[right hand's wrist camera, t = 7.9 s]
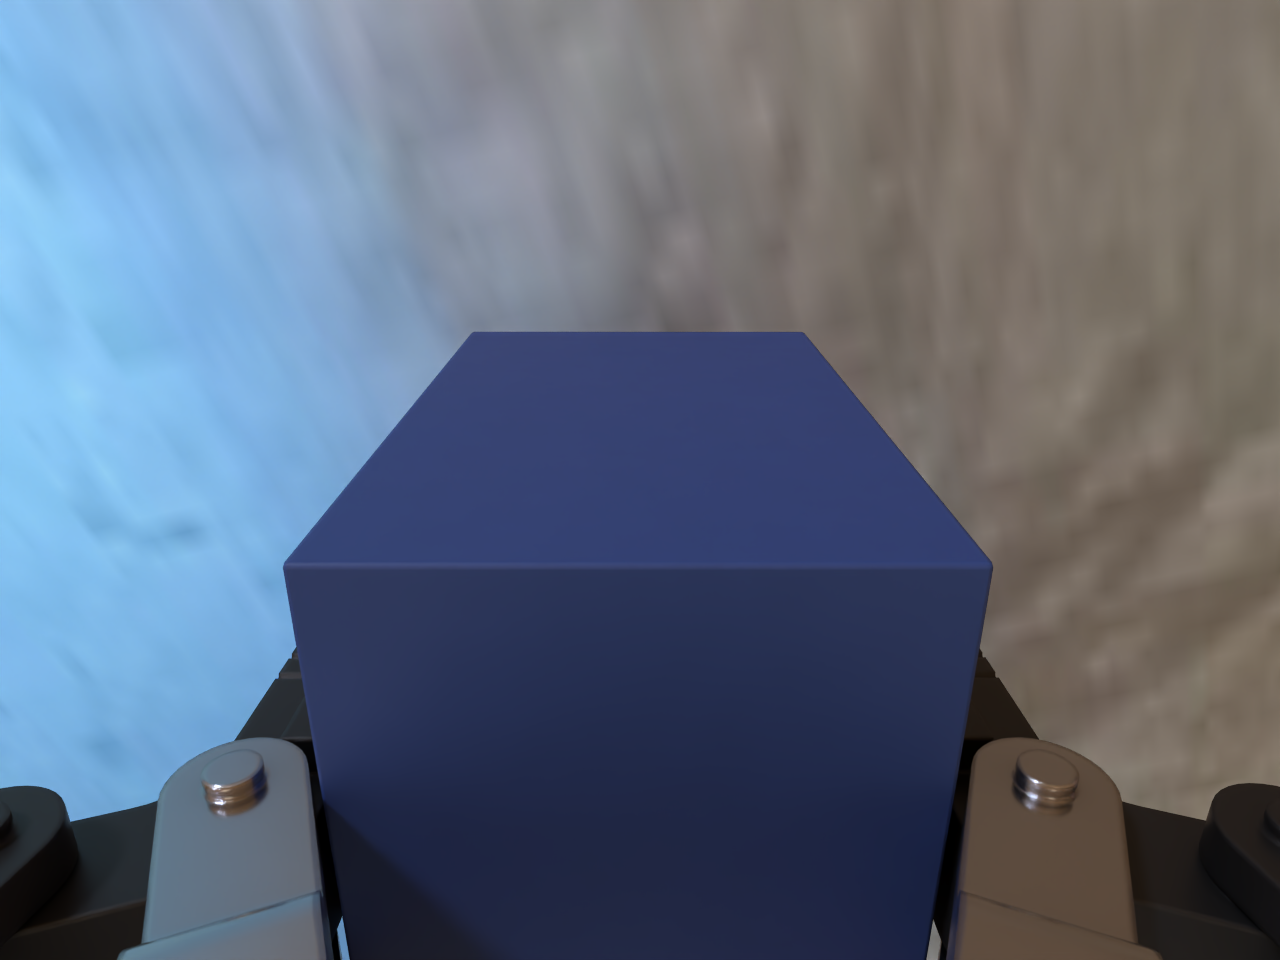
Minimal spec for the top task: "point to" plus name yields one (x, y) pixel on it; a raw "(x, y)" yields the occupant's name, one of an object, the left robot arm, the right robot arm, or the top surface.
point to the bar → (638, 660)
